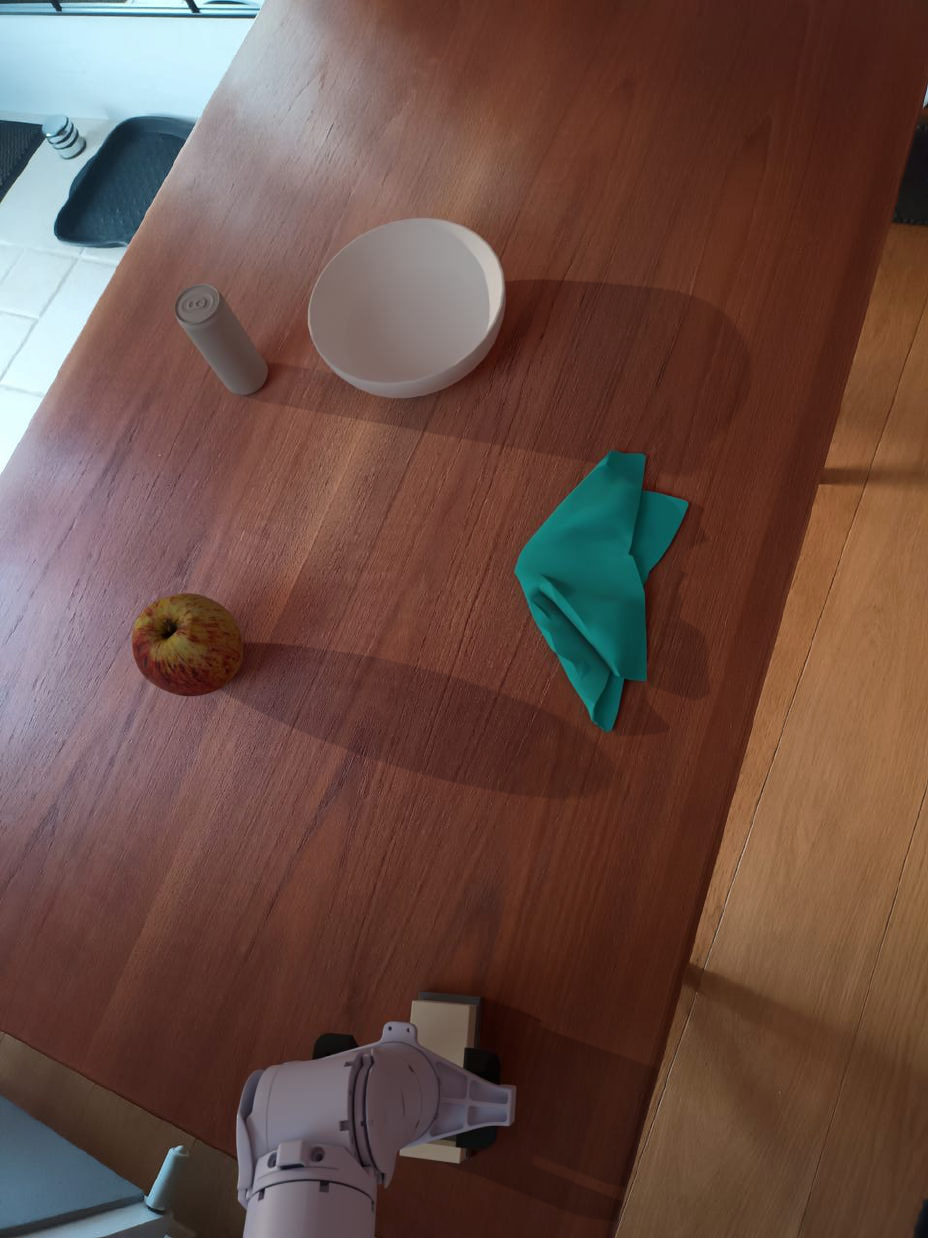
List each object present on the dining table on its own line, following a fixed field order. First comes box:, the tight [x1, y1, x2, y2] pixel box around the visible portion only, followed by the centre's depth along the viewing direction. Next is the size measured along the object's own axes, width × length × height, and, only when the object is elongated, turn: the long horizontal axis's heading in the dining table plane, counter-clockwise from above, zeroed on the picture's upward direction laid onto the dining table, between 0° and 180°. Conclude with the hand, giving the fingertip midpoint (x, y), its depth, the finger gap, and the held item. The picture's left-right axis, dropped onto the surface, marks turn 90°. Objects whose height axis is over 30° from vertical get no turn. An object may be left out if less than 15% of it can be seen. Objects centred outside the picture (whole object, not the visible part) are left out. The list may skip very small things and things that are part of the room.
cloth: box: [514, 449, 689, 732], centre depth 83 cm, size 26×14×2 cm, turn 162°
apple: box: [131, 592, 244, 697], centre depth 84 cm, size 9×9×10 cm
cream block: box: [399, 990, 484, 1164], centre depth 70 cm, size 11×5×4 cm, turn 175°
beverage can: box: [173, 282, 269, 396], centre depth 94 cm, size 5×5×12 cm
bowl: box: [307, 217, 507, 399], centre depth 94 cm, size 20×20×6 cm
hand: (427, 1079), depth 66 cm, fingers open, 7 cm apart
